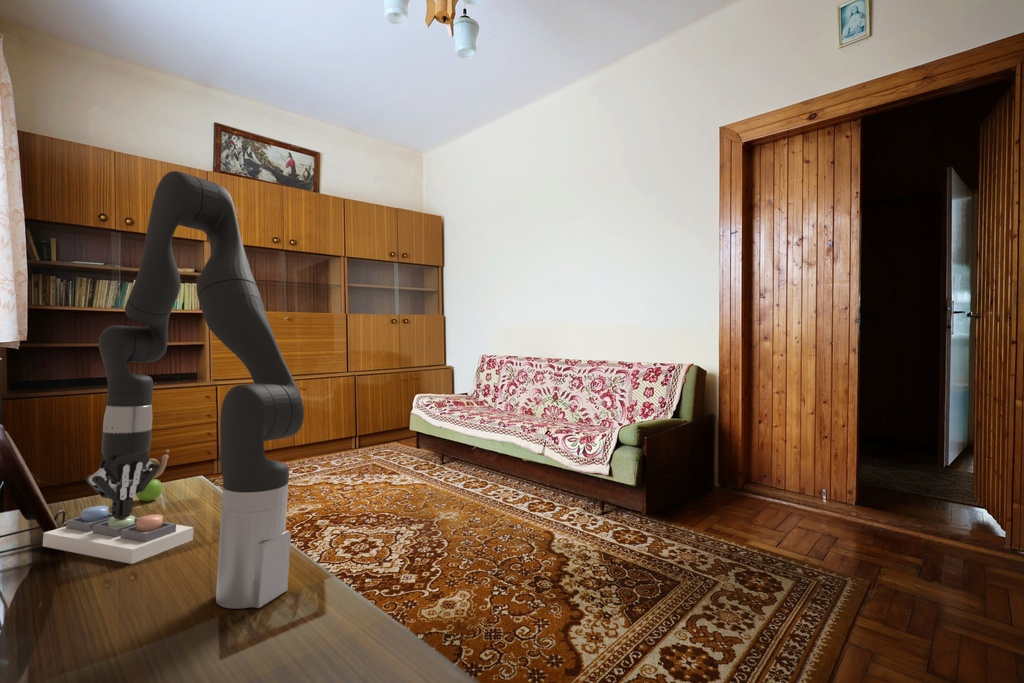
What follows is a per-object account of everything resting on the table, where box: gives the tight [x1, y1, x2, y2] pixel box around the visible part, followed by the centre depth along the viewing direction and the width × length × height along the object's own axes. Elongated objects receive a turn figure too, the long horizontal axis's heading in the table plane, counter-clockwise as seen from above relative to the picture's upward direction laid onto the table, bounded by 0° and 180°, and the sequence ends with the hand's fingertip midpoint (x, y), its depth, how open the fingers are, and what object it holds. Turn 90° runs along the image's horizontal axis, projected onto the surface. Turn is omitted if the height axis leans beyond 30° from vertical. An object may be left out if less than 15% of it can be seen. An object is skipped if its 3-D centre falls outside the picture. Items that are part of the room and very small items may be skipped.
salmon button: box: [136, 514, 164, 532], centre depth 92 cm, size 4×4×2 cm
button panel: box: [42, 512, 194, 565], centre depth 94 cm, size 22×12×4 cm, turn 75°
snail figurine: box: [135, 449, 170, 502], centre depth 121 cm, size 5×6×12 cm
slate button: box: [80, 505, 109, 523], centre depth 96 cm, size 4×4×2 cm
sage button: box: [108, 515, 136, 528], centre depth 94 cm, size 4×4×2 cm
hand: (121, 517), depth 94 cm, fingers closed
